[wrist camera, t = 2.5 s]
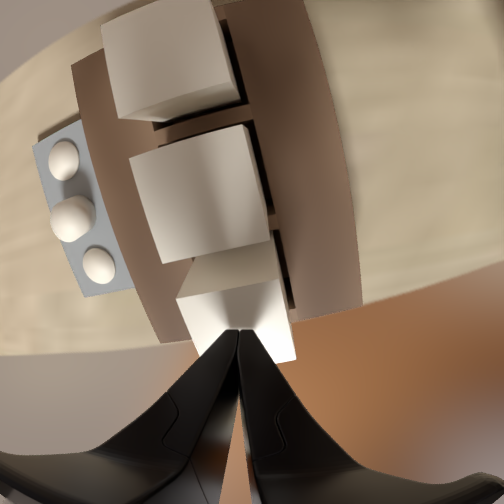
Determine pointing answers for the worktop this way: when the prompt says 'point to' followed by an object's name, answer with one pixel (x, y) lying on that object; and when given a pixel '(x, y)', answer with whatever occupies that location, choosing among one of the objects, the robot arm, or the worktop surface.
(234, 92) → the button
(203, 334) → the button
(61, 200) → the card
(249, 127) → the board
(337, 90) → the worktop surface
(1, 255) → the worktop surface
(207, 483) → the robot arm
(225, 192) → the button middle
